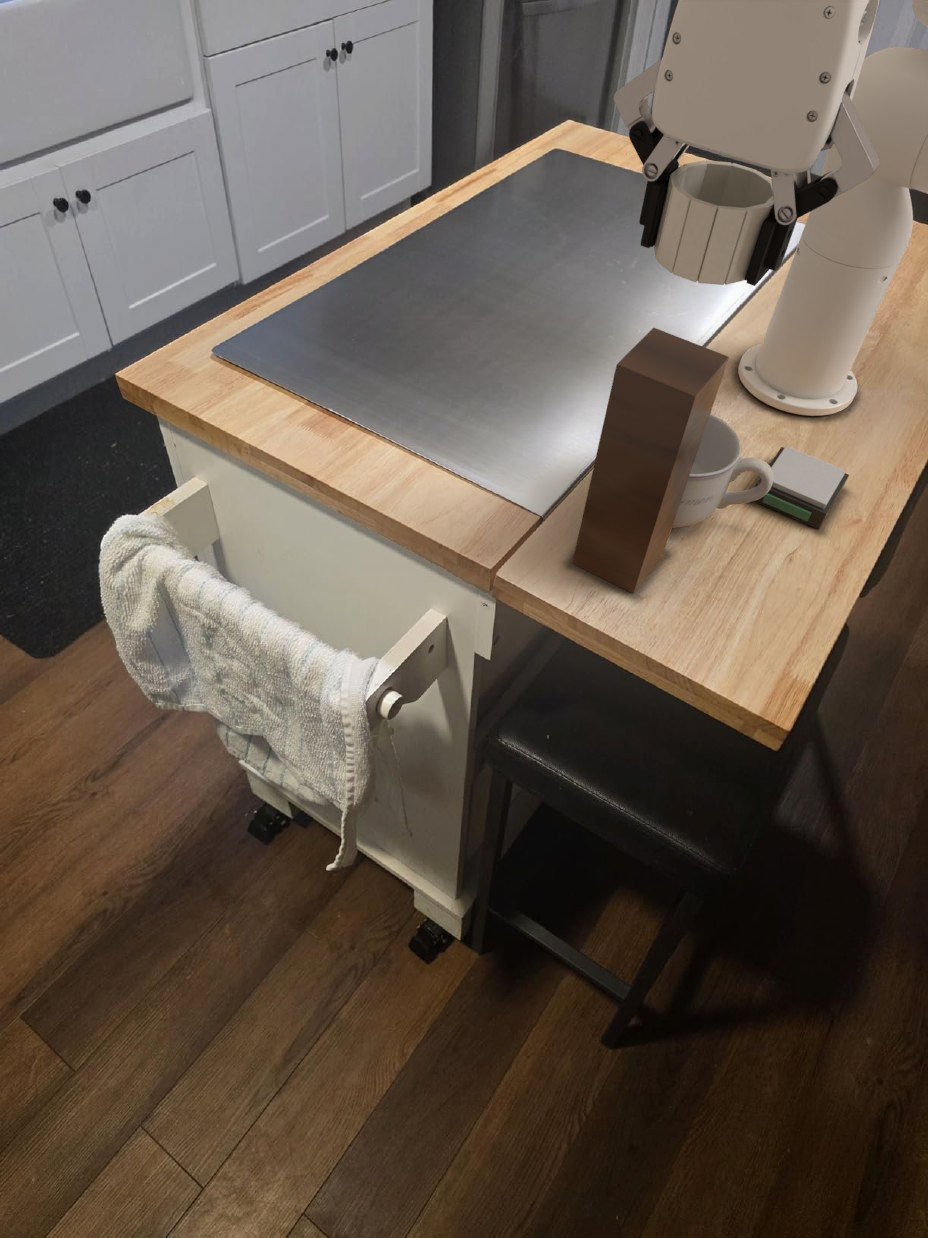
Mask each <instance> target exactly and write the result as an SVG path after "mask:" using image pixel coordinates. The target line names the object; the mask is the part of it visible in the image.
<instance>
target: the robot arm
mask: <svg viewBox="0 0 928 1238" xmlns="http://www.w3.org/2000/svg"><path fill="white" fill-rule="evenodd" d="M879 4H880V0H678V2H677V4H676V7H675V11H674V14H673V17H672V21H671V24H670V27H669V32H668V35H667V39H666V43H665V46H664V50H663V54H662V56H661V58H660V59H658V61H656V62H655V63H654V64H651V66H650V67H648V68H646V69H645V70H644V71H642V72H641V73H640V74H638V75H637V76H635V77H634V78H633V79H631V80H629V82H627V83H626V84H624V85H623V86H622V87H620V88H619V89H618V90H616V91H615V92H614V95H613V103H614V105H615V107H616V109H617V111H618V113H619V116H620V117H621V120H622V121H623V125H624V126H625V127H627V129H628V139H629V141H630V143H631V144H632V147H633V148H634V150H635V152H636V154H637V156H638V158H639V160H640V162H641V164H642V168H641V174H642V176H643V178H644V179H645V180H646V181H647V182H646V187H645V192H644V196H643V200H642V201H643V202H642V206H641V211H640V215H639V221H638V222H639V225H641V226H643V230H642V235H641V238H640V239H641V240H640V246H641V247H644V248H647V249H650V248H654V245H655V241H656V236H657V232H658V227H659V223H660V219H661V214H662V210H663V205H664V201H665V197H666V192H667V188H668V183H669V179H670V175H671V173H673V172H674V171H675V170H676V169H677V168H679V167H680V163H679V161H680V159H681V158H682V157H683V156H684V154H685V153H686V151H687V150H688V148H689V147H690V146H691V147H695V148H698V149H700V150H705V151H708V152H710V153H714V154H717V155H720V156H722V157H727V158H730V159H733V160H736V161H740V162H743V163H747V164H750V165H753V166H756V167H757V166H758V167H760V168H762V169H763V168H764V169H766V170H770V175H771V176H770V177H771V178H770V179H772V189H773V199H774V208H773V211H772V214H771V215H770V216H769V217H768V218H766V219H765V220H764V222H763V223H762V226H761V229H760V232H759V235H758V238H757V241H756V245H755V248H754V251H753V254H752V257H751V260H750V263H749V267H748V270H747V273H746V276H745V280H744V281H746V284H747V285H751V286H754V287H756V286H757V284H758V283H759V282H760V281H761V280H762V279H763V278H764V277H765V275H767V273H768V272H769V271H773V272H776V271H777V270H778V269H779V268H780V266H781V265H782V264H783V263H782V262H783V261H784V258H785V256H786V253H787V250H788V247H789V244H790V242H791V239H792V237H793V233H794V231H795V228H796V225H797V222H798V219H799V218H801V217H803V216H805V215H807V214H808V216H807V219H806V221H805V224H804V227H803V230H802V233H801V235H800V238H799V241H798V242H797V243H798V244H797V246H796V249H795V252H794V254H793V258H792V259H791V263H790V265H789V268H788V271H787V274H786V276H785V279H784V282H783V285H782V287H781V290H780V293H779V295H778V296H779V297H778V298H777V301H776V304H775V306H774V310H773V311H772V314H771V317H770V320H769V323H768V326H767V328H766V332H765V333H764V334H765V335H764V337H763V339H762V342H761V343H758V344H755V345H753V346H751V347H749V348H748V349H747V350H746V351H744V353H743V355H742V356H741V358H740V360H739V364H738V367H737V370H738V371H737V374H738V377H739V380H740V381H741V383H742V385H743V386H744V388H745V389H746V390H747V391H748V392H749V393H750V394H751V395H753V396H754V397H755V398H756V399H758V400H759V401H761V402H763V403H764V404H766V405H768V406H770V407H772V408H775V409H777V410H780V411H783V412H786V413H790V414H794V415H800V416H811V417H816V416H817V417H818V416H819V417H820V416H827V415H833V414H836V413H839V412H842V411H843V410H845V409H846V408H848V407H849V406H850V405H851V403H852V402H853V400H854V398H855V396H856V394H857V392H858V380H857V378H856V376H855V374H854V372H853V371H852V370H851V369H852V367H853V365H854V363H855V361H856V358H857V357H858V354H859V352H860V350H861V348H862V345H863V344H864V341H865V339H866V337H867V335H868V332H869V331H870V329H871V326H872V324H873V322H874V320H875V318H876V316H877V313H878V311H879V309H880V307H881V305H882V302H883V301H884V298H885V296H886V293H887V291H888V289H889V287H890V285H891V283H892V281H893V279H894V277H895V274H896V272H897V270H898V268H899V266H900V264H901V261H902V259H903V258H904V255H905V253H906V251H907V249H908V246H909V244H910V242H911V237H912V234H913V225H914V211H913V204H912V199H911V193H910V190H914V191H915V190H916V191H918V192H921V193H924V194H927V195H928V49H924V48H923V49H922V48H918V47H911V46H894V47H893V46H891V47H886V48H883V49H880V50H877V51H875V52H873V53H872V54H870V55H868V56H866V54H867V50H868V47H869V44H870V40H871V36H872V32H873V28H874V25H875V21H876V17H877V12H878V10H879V6H880V5H879ZM911 4H912V10H913V14H914V17H915V18H916V20H918V22H919V23H920V24H921V25H923V26H924V27H926V28H927V29H928V0H912V3H911ZM651 94H653V98H652V105H651V108H650V105H649V97H650V96H651ZM822 151H826V158H825V160H824V166H823V168H822V174H821V176H820V177H819V176H818V178H816V179H814V180H812V181H811V179H812V178H811V168H812V167H813V166H814V165H815V163H816V161H817V159H818V158H819V155H820V152H822Z"/></svg>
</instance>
